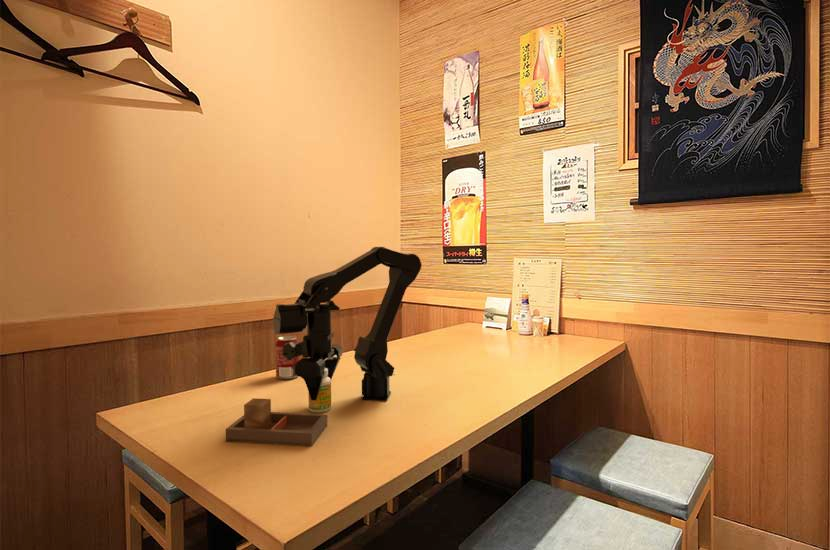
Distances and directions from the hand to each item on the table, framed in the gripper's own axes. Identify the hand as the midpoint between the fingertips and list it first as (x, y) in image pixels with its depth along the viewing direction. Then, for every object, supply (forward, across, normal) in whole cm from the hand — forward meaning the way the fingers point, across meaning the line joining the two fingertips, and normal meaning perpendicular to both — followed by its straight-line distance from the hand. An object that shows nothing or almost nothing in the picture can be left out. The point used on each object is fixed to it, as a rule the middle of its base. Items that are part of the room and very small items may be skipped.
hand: (320, 393), depth 109 cm
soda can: (+4, -24, -18) cm, 30 cm away
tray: (+4, +15, -4) cm, 16 cm away
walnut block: (+3, +15, -9) cm, 18 cm away
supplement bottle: (+4, 0, 0) cm, 4 cm away
